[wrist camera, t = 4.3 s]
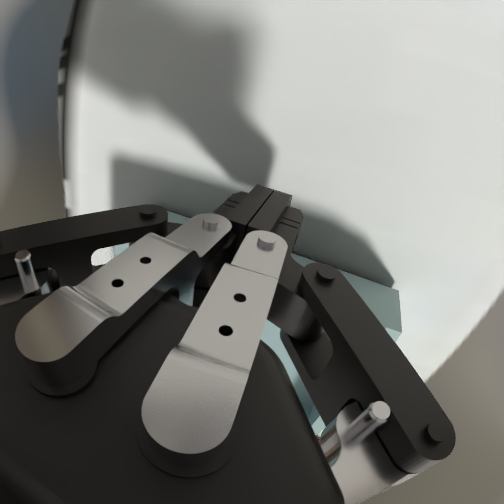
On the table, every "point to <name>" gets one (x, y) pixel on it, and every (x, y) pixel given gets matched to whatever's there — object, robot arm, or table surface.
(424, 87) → the table surface
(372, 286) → the light blue square tray
